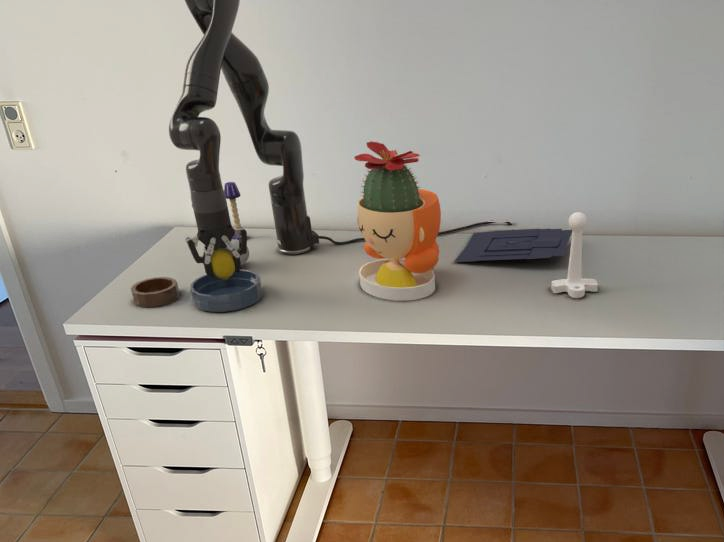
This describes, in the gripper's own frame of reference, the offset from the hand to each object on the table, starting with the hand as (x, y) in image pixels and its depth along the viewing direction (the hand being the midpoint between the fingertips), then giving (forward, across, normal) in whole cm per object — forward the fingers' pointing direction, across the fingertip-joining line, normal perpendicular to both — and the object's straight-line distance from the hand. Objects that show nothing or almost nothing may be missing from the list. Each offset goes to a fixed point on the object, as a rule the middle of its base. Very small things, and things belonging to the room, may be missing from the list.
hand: (224, 273), depth 172 cm
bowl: (+7, 0, 0) cm, 7 cm away
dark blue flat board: (+7, +77, -12) cm, 78 cm away
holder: (+6, -15, +10) cm, 19 cm away
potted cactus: (+7, +41, -14) cm, 44 cm away
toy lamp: (+7, +14, +42) cm, 44 cm away
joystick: (+7, +74, -43) cm, 86 cm away
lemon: (+2, 0, 0) cm, 2 cm away
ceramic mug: (+7, +5, +20) cm, 21 cm away
